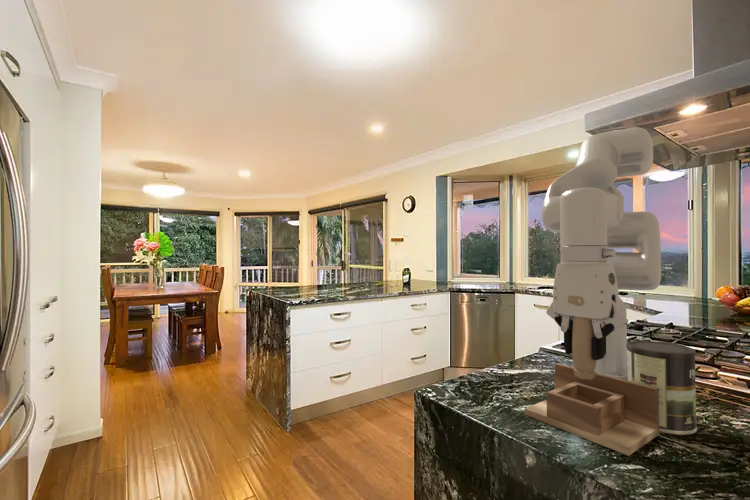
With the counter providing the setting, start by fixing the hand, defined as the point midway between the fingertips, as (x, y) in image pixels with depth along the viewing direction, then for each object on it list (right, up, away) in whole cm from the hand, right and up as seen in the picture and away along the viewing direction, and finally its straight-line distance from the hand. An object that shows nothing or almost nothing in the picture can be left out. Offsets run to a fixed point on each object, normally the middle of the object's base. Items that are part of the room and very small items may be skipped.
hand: (584, 354), depth 68 cm
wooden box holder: (+1, -13, 0) cm, 13 cm away
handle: (0, -4, 0) cm, 4 cm away
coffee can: (+15, -13, +1) cm, 20 cm away
